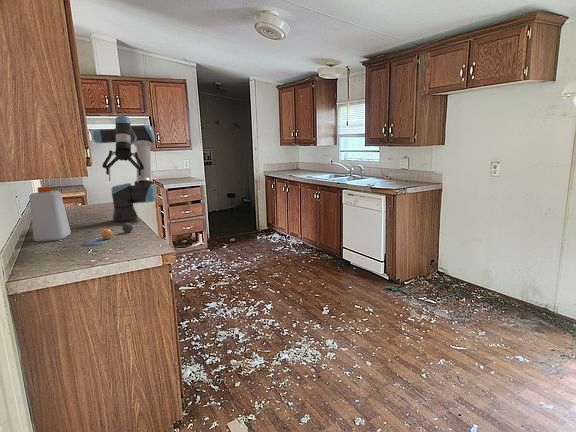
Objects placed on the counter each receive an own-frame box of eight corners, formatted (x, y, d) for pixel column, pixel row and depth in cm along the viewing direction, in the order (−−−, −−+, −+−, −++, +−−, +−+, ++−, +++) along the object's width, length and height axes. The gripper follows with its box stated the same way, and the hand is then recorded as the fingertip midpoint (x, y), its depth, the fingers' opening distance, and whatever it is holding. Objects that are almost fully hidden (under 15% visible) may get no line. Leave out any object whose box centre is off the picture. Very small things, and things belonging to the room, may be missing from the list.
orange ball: (100, 238, 191) (99, 228, 190) (111, 236, 194) (110, 227, 193) (102, 241, 187) (101, 230, 186) (114, 238, 190) (112, 228, 189)
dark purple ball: (121, 232, 204) (120, 222, 202) (132, 230, 207) (130, 221, 206) (124, 234, 199) (122, 224, 198) (134, 232, 202) (133, 222, 201)
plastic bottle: (31, 242, 188) (20, 189, 182) (44, 235, 203) (35, 186, 197) (62, 240, 191) (53, 188, 185) (73, 233, 206) (65, 184, 200)
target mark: (80, 242, 185) (79, 242, 185) (105, 238, 192) (105, 237, 192) (83, 247, 176) (83, 247, 175) (110, 242, 183) (110, 242, 182)
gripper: (97, 138, 187) (97, 177, 183) (148, 142, 198) (149, 179, 194) (97, 144, 194) (97, 182, 189) (147, 148, 205) (148, 183, 200)
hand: (123, 180), depth 191 cm, fingers open, 13 cm apart
